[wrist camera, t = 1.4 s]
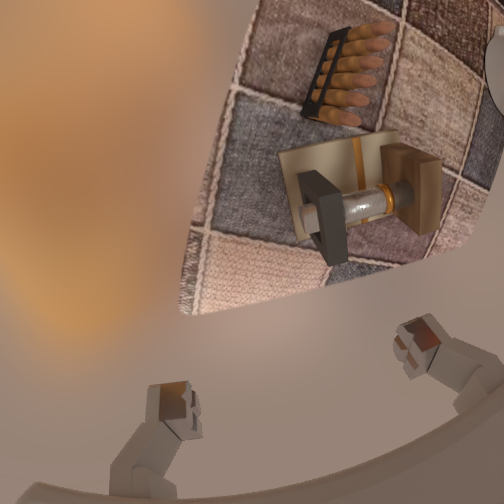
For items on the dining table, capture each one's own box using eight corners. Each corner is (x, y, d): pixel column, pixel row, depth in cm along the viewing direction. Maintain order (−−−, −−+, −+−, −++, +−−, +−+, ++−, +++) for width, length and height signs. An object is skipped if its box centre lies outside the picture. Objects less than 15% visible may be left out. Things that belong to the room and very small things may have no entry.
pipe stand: (394, 129, 30) (441, 145, 22) (399, 208, 36) (438, 240, 28) (277, 151, 30) (299, 173, 23) (296, 237, 36) (318, 280, 28)
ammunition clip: (315, 121, 29) (366, 138, 19) (299, 115, 28) (345, 128, 18) (345, 39, 24) (407, 22, 14) (330, 32, 24) (387, 9, 13)
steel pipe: (409, 172, 28) (426, 181, 25) (410, 197, 29) (425, 208, 27) (295, 200, 28) (304, 212, 25) (301, 227, 30) (309, 241, 27)
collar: (315, 169, 29) (341, 191, 23) (324, 227, 32) (348, 260, 26) (296, 173, 29) (319, 197, 23) (308, 232, 32) (328, 266, 26)
